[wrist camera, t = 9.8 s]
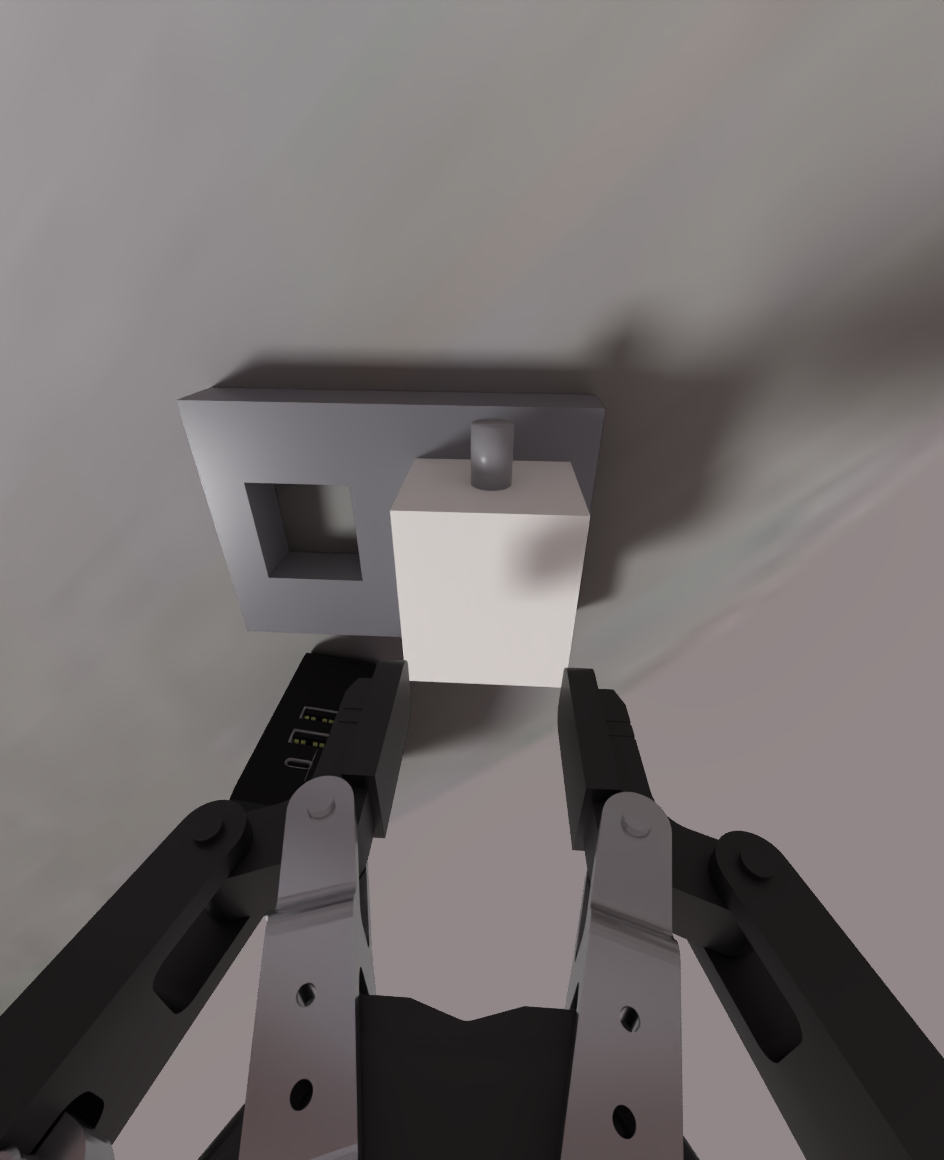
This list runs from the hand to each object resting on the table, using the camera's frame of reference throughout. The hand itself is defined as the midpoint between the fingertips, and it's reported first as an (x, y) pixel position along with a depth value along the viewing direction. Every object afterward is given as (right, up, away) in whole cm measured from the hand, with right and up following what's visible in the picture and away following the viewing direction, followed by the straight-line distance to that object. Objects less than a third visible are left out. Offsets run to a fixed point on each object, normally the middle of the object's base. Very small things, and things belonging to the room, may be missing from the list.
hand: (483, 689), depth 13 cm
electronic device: (-9, -5, +17) cm, 20 cm away
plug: (+1, +6, +9) cm, 11 cm away
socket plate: (-3, +6, +10) cm, 12 cm away
